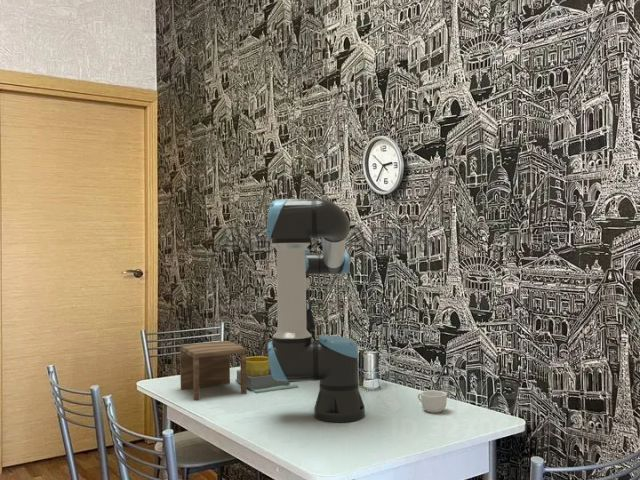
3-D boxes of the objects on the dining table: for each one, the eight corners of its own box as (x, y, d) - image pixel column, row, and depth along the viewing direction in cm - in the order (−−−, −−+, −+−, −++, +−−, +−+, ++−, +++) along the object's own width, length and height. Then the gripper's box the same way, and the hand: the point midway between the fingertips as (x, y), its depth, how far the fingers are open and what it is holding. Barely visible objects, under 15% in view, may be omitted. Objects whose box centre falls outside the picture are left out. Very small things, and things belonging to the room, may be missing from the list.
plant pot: (276, 383, 230) (275, 356, 230) (265, 390, 220) (264, 362, 220) (249, 381, 233) (249, 355, 233) (238, 388, 223) (237, 360, 223)
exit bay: (298, 387, 223) (298, 385, 223) (255, 393, 216) (255, 391, 216) (275, 376, 242) (275, 374, 242) (235, 381, 234) (235, 379, 234)
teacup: (452, 411, 191) (452, 393, 191) (436, 416, 186) (436, 398, 186) (426, 404, 198) (426, 387, 198) (410, 409, 193) (410, 392, 193)
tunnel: (246, 393, 215) (245, 348, 215) (194, 400, 207) (194, 353, 207) (229, 382, 232) (228, 340, 231) (180, 388, 223) (179, 345, 223)
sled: (315, 381, 230) (314, 351, 229) (251, 389, 218) (250, 358, 218) (298, 373, 243) (297, 345, 242) (236, 381, 231) (236, 351, 231)
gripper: (323, 290, 225) (324, 350, 225) (294, 287, 248) (295, 341, 247) (305, 291, 222) (305, 351, 222) (277, 288, 244) (277, 343, 244)
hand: (300, 346), depth 234 cm, fingers open, 13 cm apart
